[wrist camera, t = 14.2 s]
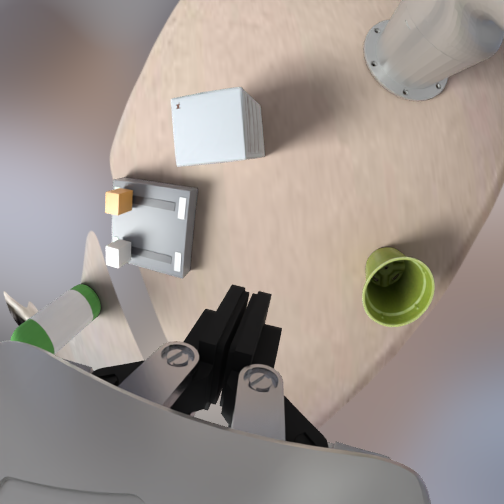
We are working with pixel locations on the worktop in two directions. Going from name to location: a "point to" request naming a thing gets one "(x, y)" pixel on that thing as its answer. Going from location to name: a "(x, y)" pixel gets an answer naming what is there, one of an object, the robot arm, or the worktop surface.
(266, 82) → the worktop surface
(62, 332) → the wine bottle
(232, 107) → the supplement box
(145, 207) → the slider switch panel
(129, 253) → the white slider switch
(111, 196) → the block
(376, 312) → the plant pot
